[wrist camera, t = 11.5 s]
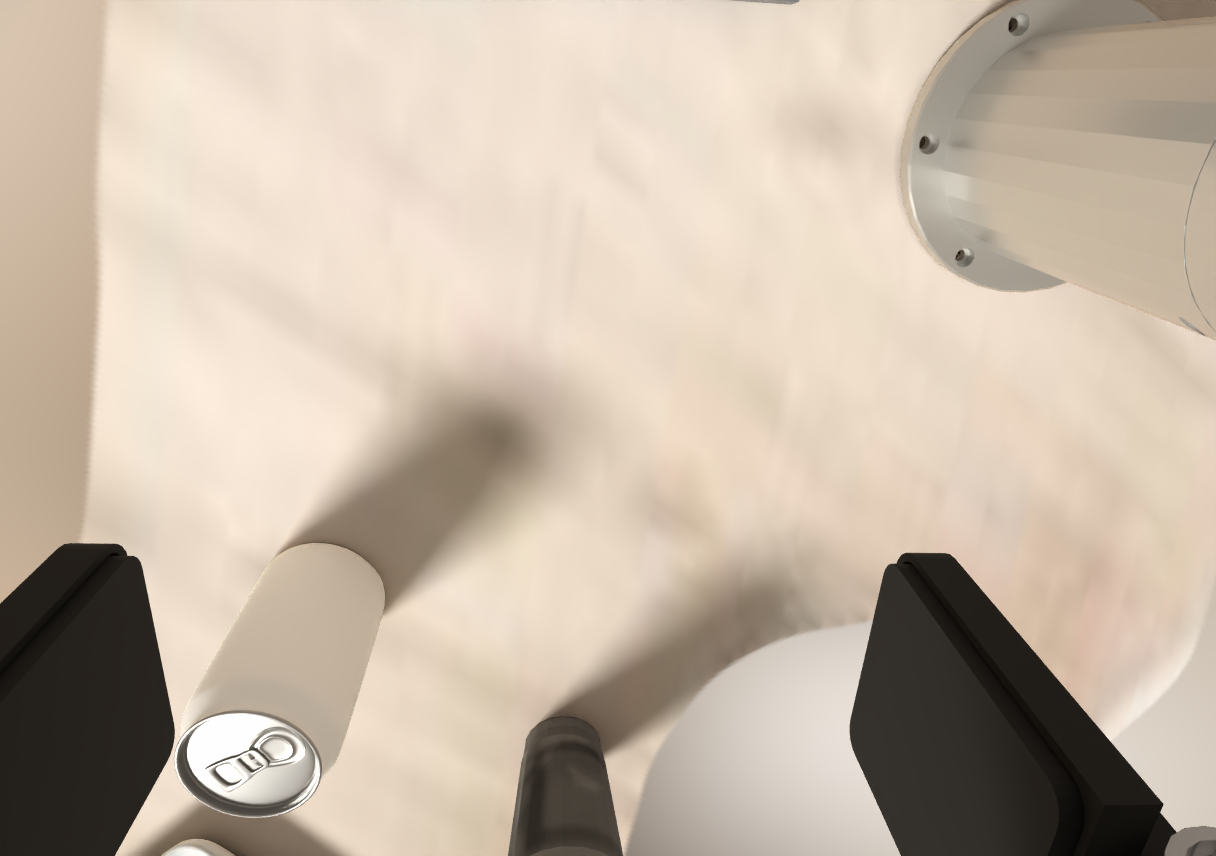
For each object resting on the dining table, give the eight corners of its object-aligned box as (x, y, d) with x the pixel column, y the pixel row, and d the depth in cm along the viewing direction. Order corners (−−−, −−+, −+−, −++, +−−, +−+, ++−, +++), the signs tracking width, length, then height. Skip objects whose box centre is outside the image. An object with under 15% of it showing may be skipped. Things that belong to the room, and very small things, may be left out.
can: (411, 605, 43) (365, 783, 32) (314, 658, 44) (238, 848, 33) (336, 517, 41) (259, 677, 30) (235, 575, 42) (125, 750, 31)
